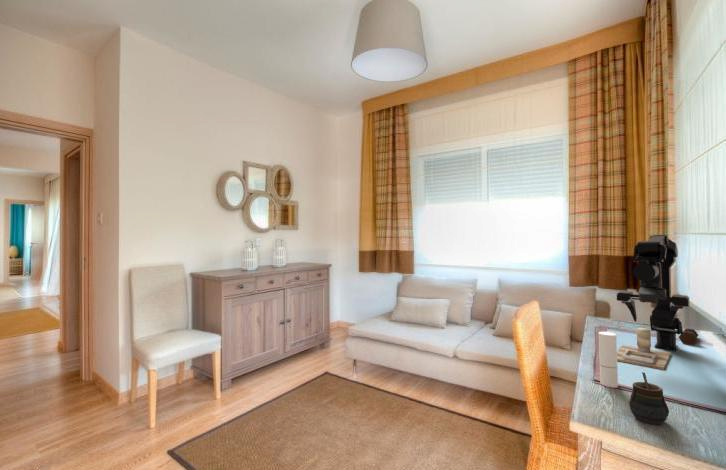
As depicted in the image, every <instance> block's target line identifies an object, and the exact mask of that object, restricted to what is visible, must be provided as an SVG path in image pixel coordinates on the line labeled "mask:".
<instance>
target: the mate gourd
mask: <svg viewBox="0 0 726 470" xmlns="http://www.w3.org/2000/svg"><path fill="white" fill-rule="evenodd" d="M641 373H642V377H643V381H637V382H636V381H635V382H633V383H632V391H631V394H630V397H629V400H628V404H629V405H628V407H629V409H630V412H631V414H632V415H633V416H634V417H635V418H636V419H638V420H639V421H641V422H644V423H645V424H648V425H649V424H650V425H661V424H663V423H664V422H666V421H667V419H668V417H669V414H670V411H669V407H668V404H667V402H666V400H665V398H664V391H663V388H662V387H661V386H659V385H657V384H653V383H649V382H648V379H647V376H646V372H643V371H642V372H641Z"/></svg>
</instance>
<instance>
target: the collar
mask: <svg viewBox="0 0 726 470" xmlns="http://www.w3.org/2000/svg"><path fill="white" fill-rule="evenodd" d="M628 354H634V355H639V356H645V357H651V360H650V359H644V358H639V357H633V356H628ZM622 356H623V359H628V360H633V361H639V362H644V363H649V364H653V363H654V361H655V359H656V354H650V353H644V352H638V351H632V350H626V351H625V353H624V354H623V355H622Z"/></svg>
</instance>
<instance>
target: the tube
mask: <svg viewBox="0 0 726 470" xmlns="http://www.w3.org/2000/svg"><path fill="white" fill-rule="evenodd" d="M617 344H618V342H617V333H614V332H611V331H599V332H598V352H599V355H598V356H599V383H600V385H601V386H604V387H608V388H618V387H619V378H618V377H619V375H618V374H619V373H618V361H617V351H618V347H617Z"/></svg>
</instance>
